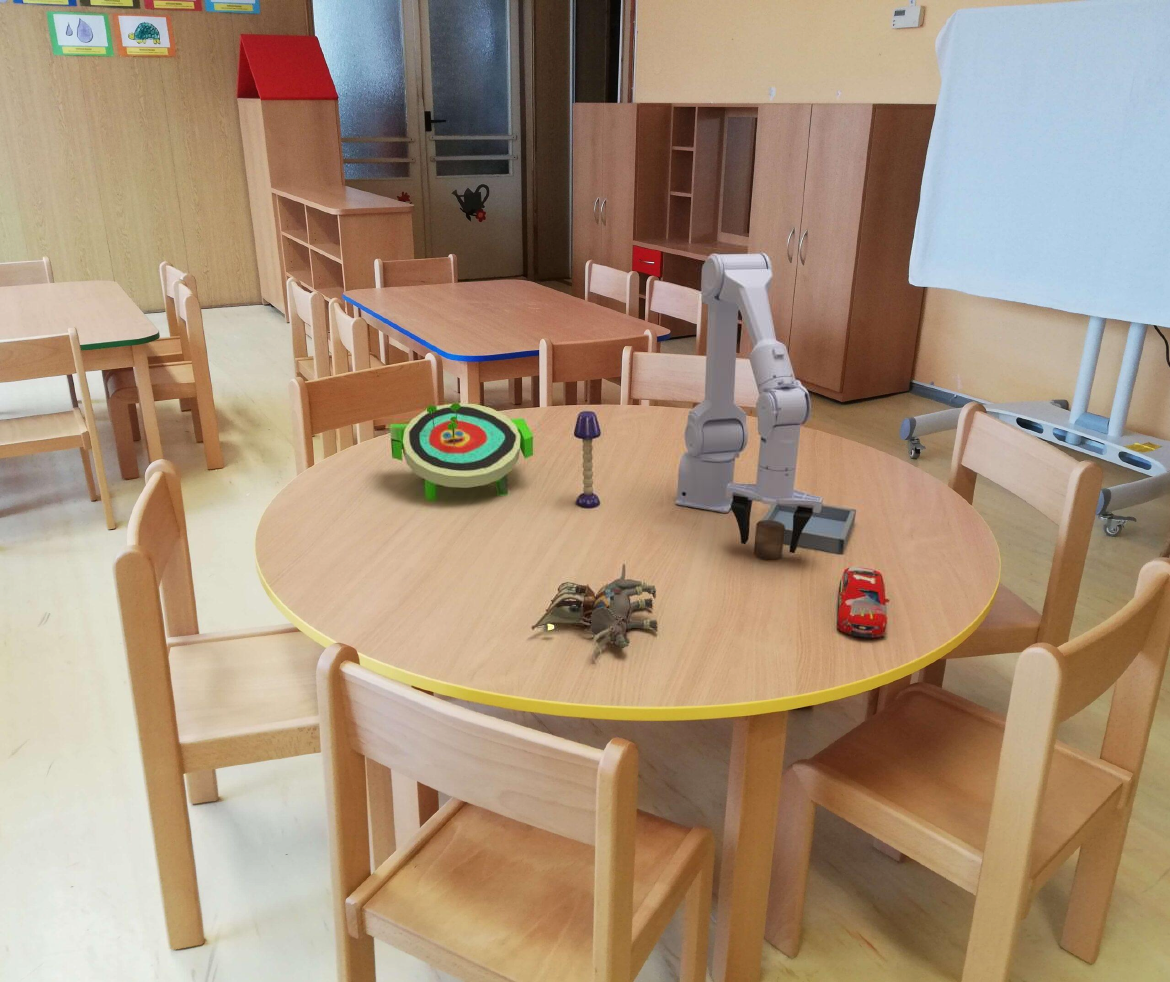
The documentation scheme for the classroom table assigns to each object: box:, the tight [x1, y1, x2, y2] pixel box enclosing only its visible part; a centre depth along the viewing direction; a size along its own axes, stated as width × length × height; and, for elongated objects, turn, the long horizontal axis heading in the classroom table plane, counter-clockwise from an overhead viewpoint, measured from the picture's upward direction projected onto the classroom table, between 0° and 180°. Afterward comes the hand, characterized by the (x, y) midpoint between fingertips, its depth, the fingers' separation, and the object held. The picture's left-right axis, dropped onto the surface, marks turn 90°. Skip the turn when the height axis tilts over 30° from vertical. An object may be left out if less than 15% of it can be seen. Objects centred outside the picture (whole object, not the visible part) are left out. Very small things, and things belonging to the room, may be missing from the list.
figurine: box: [530, 563, 659, 663], centre depth 125 cm, size 20×6×17 cm
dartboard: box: [389, 401, 534, 501], centre depth 168 cm, size 25×19×16 cm
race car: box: [836, 566, 890, 639], centre depth 130 cm, size 16×7×5 cm, turn 163°
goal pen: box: [761, 503, 857, 555], centre depth 156 cm, size 14×14×2 cm
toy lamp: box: [573, 410, 602, 509], centre depth 163 cm, size 5×5×17 cm
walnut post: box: [753, 519, 785, 562], centre depth 147 cm, size 4×4×5 cm
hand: (768, 546), depth 147 cm, fingers open, 7 cm apart
